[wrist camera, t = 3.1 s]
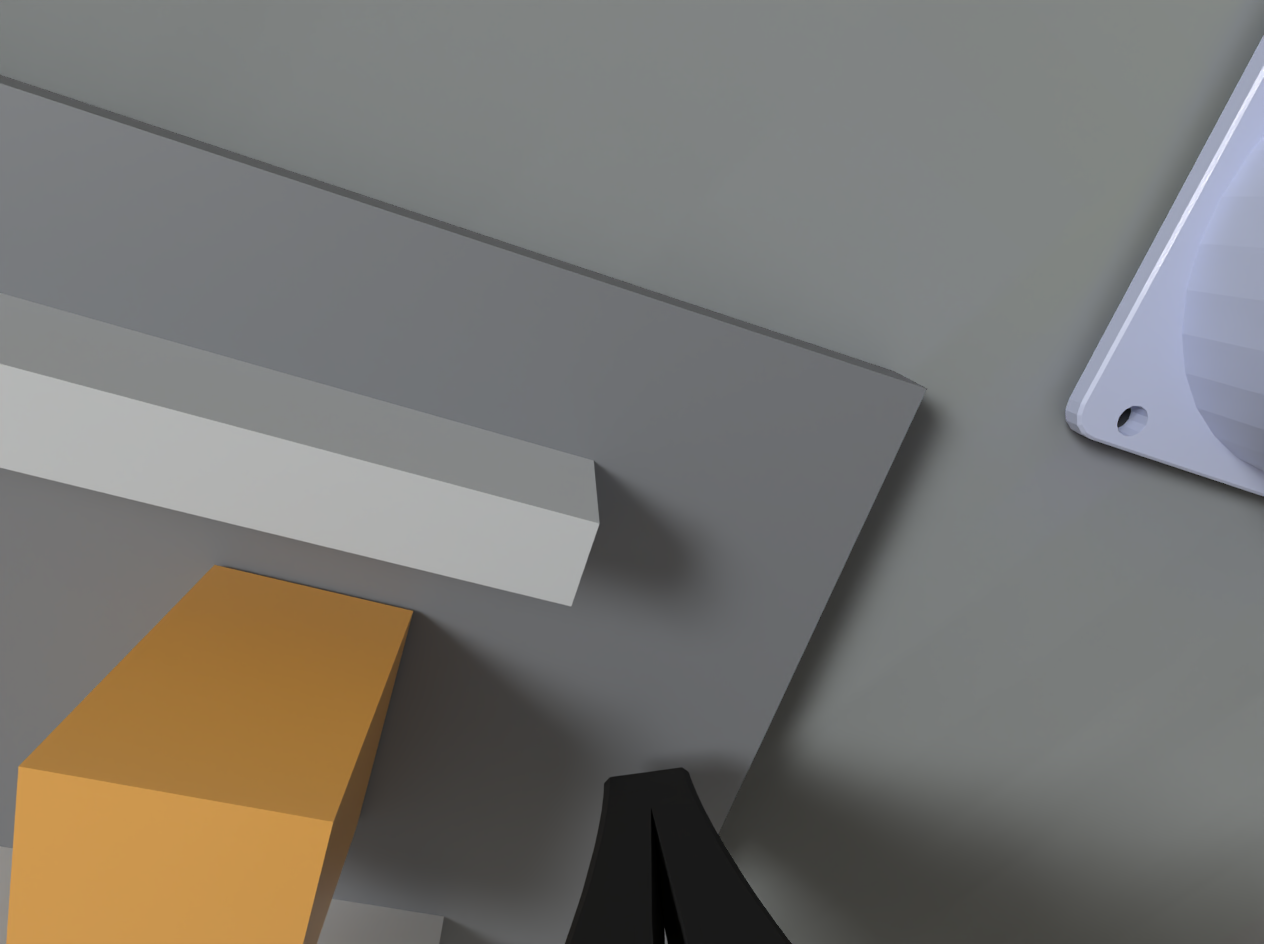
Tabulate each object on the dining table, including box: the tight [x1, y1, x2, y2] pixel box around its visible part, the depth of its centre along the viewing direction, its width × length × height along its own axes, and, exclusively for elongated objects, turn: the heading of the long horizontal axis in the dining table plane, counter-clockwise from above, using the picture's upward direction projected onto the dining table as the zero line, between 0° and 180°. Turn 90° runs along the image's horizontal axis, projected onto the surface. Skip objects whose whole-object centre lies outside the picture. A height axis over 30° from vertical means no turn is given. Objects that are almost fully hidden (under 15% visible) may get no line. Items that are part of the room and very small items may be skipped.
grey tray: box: [0, 75, 927, 944], centre depth 11 cm, size 18×16×4 cm
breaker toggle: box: [6, 565, 413, 944], centre depth 10 cm, size 3×4×4 cm, turn 162°
